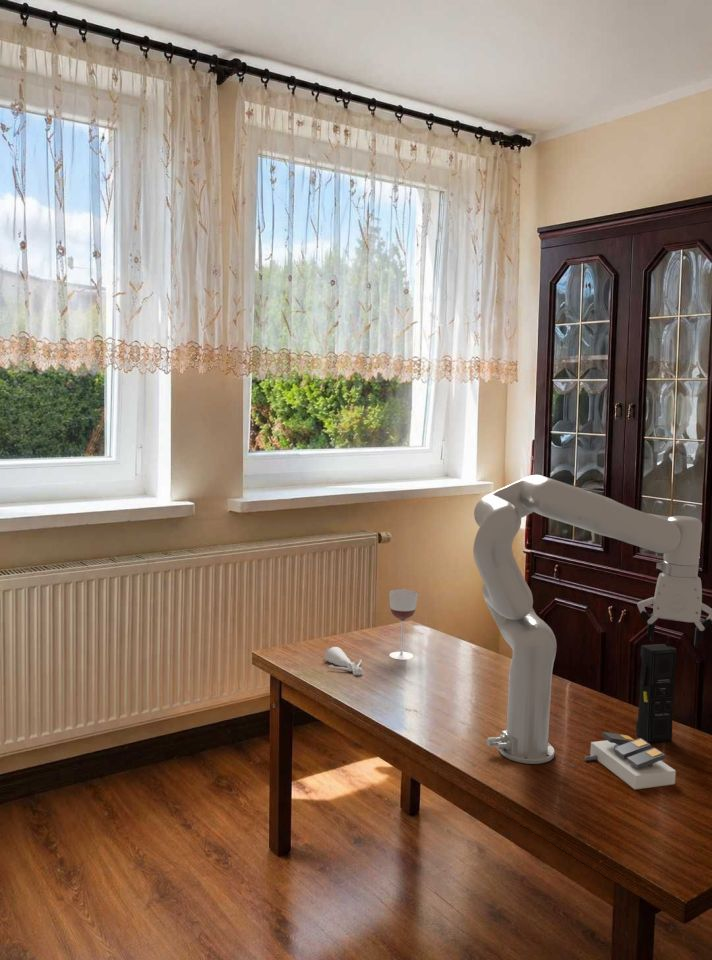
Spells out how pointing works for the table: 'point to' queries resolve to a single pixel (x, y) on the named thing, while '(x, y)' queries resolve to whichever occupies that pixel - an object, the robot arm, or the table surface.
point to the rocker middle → (632, 748)
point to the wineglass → (402, 614)
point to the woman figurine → (342, 661)
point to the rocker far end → (646, 758)
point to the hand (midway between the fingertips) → (673, 642)
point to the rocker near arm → (617, 738)
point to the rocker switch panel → (631, 767)
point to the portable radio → (656, 692)
